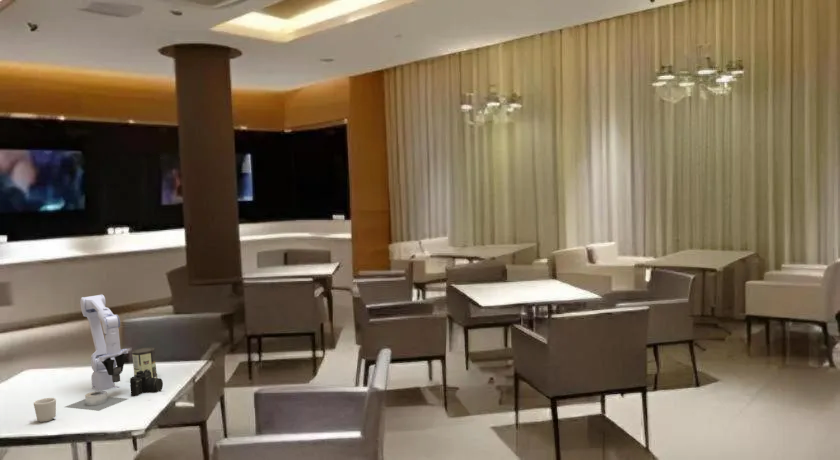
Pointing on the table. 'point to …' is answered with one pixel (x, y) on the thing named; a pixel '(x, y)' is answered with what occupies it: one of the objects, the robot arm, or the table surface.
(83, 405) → the mat
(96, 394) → the beige donut ring
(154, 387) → the camera
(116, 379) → the dark bulb knob
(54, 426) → the table surface
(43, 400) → the cup
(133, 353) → the coffee can
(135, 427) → the table surface
